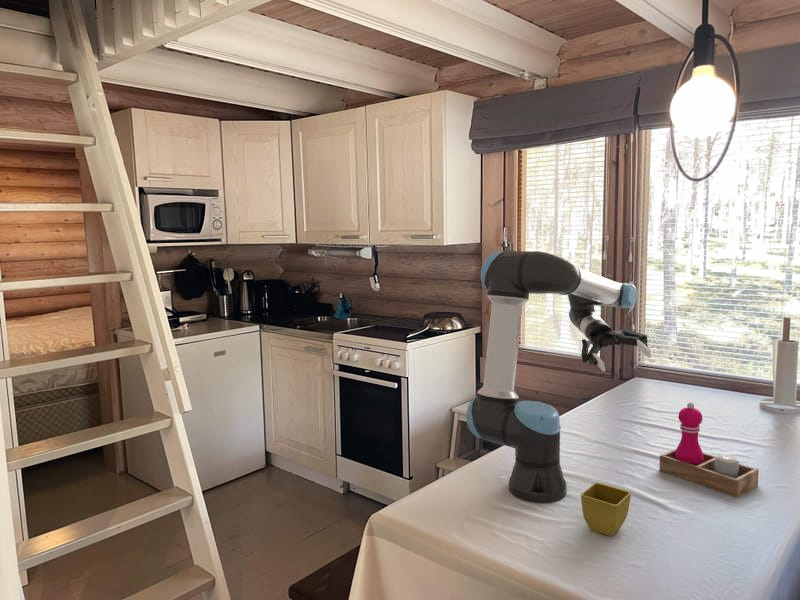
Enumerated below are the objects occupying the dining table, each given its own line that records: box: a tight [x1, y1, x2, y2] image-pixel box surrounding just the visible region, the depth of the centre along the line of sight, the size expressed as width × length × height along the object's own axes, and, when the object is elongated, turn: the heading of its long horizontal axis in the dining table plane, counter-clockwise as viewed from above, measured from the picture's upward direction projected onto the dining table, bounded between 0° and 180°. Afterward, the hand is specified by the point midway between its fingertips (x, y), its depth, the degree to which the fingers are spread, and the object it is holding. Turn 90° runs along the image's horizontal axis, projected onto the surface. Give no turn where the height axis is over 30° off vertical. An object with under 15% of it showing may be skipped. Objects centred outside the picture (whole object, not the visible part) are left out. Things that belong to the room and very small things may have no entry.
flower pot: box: [580, 482, 632, 537], centre depth 139 cm, size 9×9×9 cm
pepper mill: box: [675, 402, 704, 466], centre depth 165 cm, size 7×7×20 cm
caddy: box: [658, 447, 759, 498], centre depth 162 cm, size 11×21×6 cm, turn 34°
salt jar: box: [714, 454, 740, 479], centre depth 158 cm, size 6×6×7 cm
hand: (626, 360), depth 171 cm, fingers open, 13 cm apart
